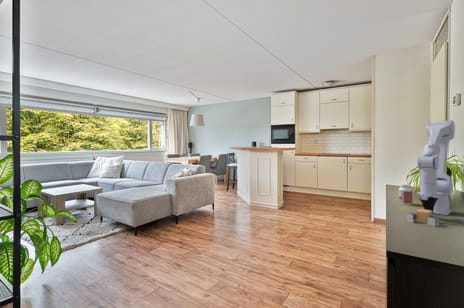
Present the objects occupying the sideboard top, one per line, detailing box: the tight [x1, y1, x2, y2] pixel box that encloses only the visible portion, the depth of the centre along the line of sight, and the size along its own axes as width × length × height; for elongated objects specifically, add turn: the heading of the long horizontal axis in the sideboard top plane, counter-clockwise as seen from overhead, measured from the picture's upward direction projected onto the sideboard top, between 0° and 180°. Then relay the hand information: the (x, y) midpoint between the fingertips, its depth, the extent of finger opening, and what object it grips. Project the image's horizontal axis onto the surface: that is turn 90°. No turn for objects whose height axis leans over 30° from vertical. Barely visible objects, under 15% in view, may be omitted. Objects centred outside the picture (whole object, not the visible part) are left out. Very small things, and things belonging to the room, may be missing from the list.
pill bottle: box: [398, 183, 413, 206], centre depth 133 cm, size 6×6×11 cm
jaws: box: [404, 211, 440, 227], centre depth 99 cm, size 4×11×3 cm, turn 38°
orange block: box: [415, 208, 433, 224], centre depth 101 cm, size 6×4×4 cm
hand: (428, 214), depth 106 cm, fingers closed
